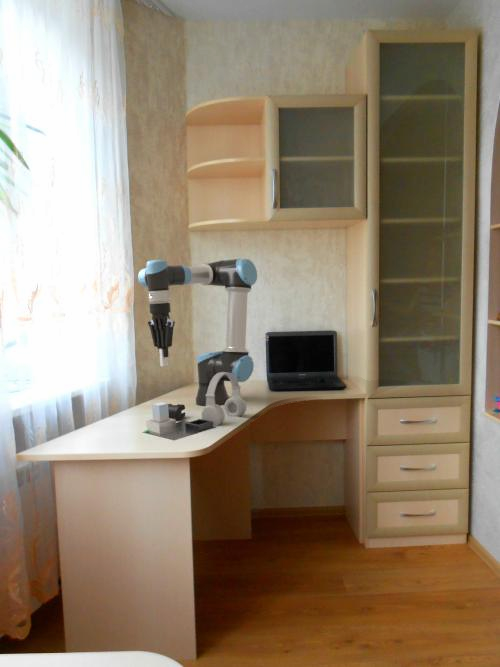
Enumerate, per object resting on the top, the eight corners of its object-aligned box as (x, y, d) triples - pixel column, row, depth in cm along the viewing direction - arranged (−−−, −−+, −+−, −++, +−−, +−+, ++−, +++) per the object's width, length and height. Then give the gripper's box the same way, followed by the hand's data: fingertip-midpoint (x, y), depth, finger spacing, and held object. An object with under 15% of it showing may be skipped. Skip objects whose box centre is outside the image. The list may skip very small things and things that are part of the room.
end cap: (155, 422, 203) (154, 406, 202) (165, 418, 209) (164, 402, 209) (177, 424, 199) (176, 407, 198) (186, 419, 205) (185, 403, 205)
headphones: (230, 415, 210) (228, 368, 209) (247, 416, 206) (245, 369, 204) (200, 427, 193) (198, 376, 192) (219, 429, 189) (216, 377, 187)
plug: (162, 429, 188) (161, 402, 188) (169, 430, 186) (168, 403, 185) (153, 431, 185) (152, 404, 185) (160, 433, 183) (159, 405, 182)
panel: (184, 422, 200) (183, 410, 200) (216, 429, 188) (216, 416, 188) (142, 434, 185) (141, 421, 185) (174, 443, 173) (173, 428, 173)
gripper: (140, 303, 191) (145, 366, 194) (162, 303, 183) (168, 368, 185) (156, 302, 197) (161, 363, 199) (179, 301, 188) (183, 365, 191)
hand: (164, 365), depth 192 cm, fingers closed
